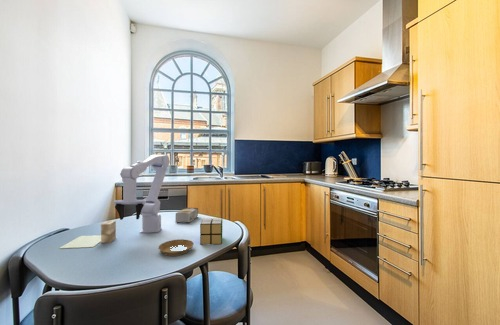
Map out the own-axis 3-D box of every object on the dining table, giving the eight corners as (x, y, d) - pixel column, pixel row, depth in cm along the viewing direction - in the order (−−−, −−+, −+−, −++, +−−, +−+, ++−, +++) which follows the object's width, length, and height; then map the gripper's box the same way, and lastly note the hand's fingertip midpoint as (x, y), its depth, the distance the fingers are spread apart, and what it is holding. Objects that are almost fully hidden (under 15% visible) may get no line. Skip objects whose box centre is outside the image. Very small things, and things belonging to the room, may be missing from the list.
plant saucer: (171, 261, 91) (171, 255, 91) (151, 252, 100) (151, 246, 100) (200, 249, 103) (200, 244, 103) (180, 242, 111) (180, 237, 111)
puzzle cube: (202, 237, 118) (202, 218, 117) (222, 237, 118) (222, 218, 118) (200, 245, 108) (200, 223, 107) (221, 244, 108) (221, 223, 108)
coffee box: (175, 212, 144) (185, 207, 160) (175, 222, 144) (185, 216, 160) (189, 213, 143) (198, 207, 159) (189, 223, 143) (198, 216, 159)
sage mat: (109, 235, 120) (109, 234, 120) (93, 247, 104) (93, 246, 104) (80, 236, 118) (80, 235, 118) (59, 248, 102) (59, 248, 102)
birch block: (115, 238, 116) (115, 220, 115) (110, 242, 110) (110, 224, 110) (107, 238, 115) (107, 220, 115) (101, 243, 109) (101, 224, 109)
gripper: (110, 192, 108) (110, 221, 108) (142, 192, 110) (142, 220, 110) (117, 190, 115) (116, 217, 115) (147, 190, 117) (147, 217, 117)
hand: (129, 219), depth 113 cm, fingers open, 7 cm apart
